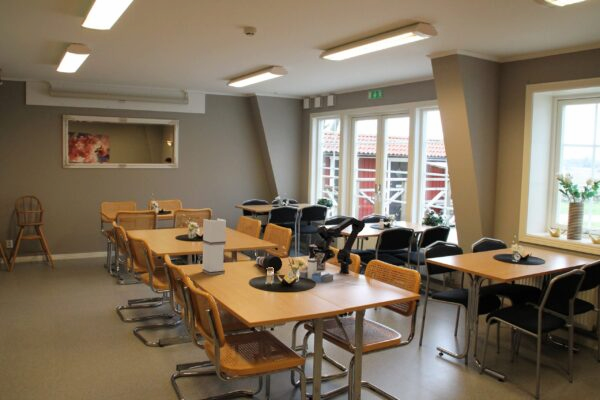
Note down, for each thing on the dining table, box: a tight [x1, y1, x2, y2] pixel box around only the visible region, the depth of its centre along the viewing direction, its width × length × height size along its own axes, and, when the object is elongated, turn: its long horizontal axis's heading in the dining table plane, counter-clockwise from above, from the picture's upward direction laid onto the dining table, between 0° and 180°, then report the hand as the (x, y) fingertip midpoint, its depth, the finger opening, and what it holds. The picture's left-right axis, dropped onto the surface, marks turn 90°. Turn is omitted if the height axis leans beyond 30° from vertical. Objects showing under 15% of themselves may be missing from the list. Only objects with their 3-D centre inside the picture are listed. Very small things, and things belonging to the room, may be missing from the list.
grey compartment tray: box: [299, 269, 334, 284], centre depth 322 cm, size 20×9×5 cm, turn 53°
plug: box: [307, 258, 318, 280], centre depth 324 cm, size 4×4×12 cm
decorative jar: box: [308, 243, 327, 270], centre depth 363 cm, size 12×12×18 cm
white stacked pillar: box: [202, 218, 227, 276], centre depth 334 cm, size 11×11×35 cm
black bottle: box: [255, 255, 283, 273], centre depth 356 cm, size 10×34×10 cm, turn 23°
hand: (315, 262), depth 327 cm, fingers open, 9 cm apart
